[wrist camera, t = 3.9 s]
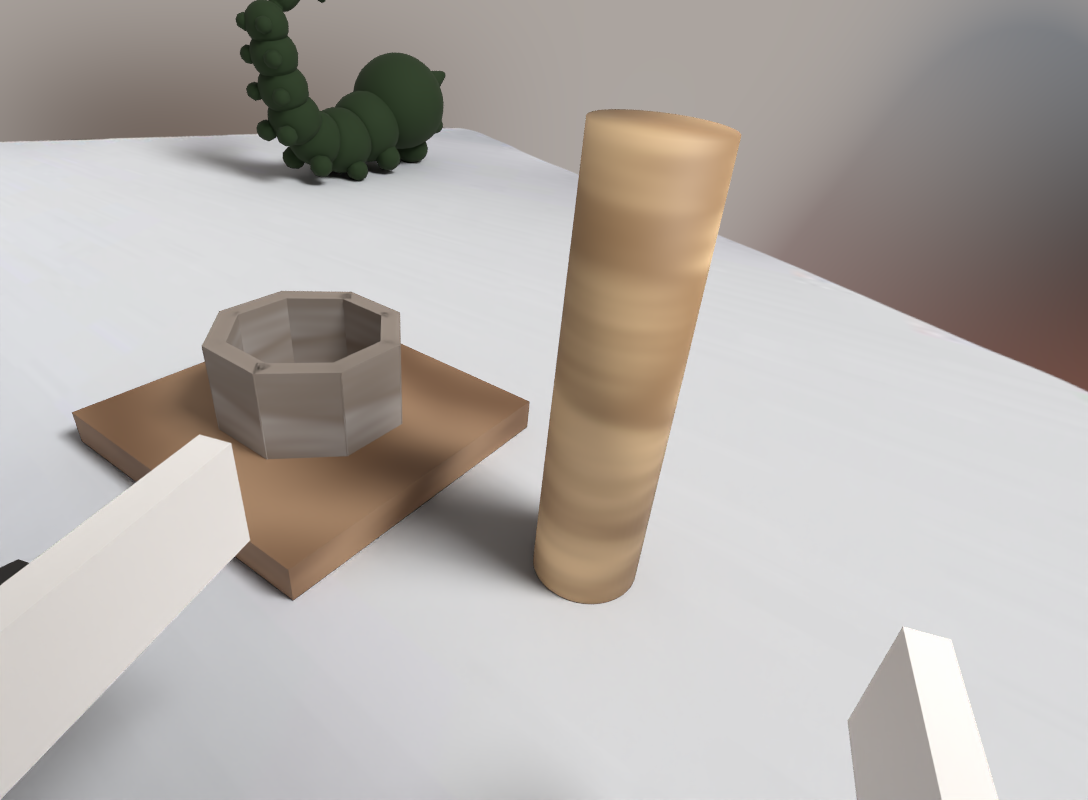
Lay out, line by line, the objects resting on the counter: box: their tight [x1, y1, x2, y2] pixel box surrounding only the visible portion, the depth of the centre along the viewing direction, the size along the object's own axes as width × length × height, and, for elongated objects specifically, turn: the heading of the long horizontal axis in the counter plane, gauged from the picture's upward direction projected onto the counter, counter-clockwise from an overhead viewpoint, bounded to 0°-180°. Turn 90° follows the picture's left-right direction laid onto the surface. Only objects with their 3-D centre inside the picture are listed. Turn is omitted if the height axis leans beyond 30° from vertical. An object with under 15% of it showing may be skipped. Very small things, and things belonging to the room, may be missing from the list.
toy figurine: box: [236, 0, 445, 181], centre depth 67 cm, size 9×19×25 cm
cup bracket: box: [72, 291, 529, 600], centre depth 29 cm, size 14×14×6 cm
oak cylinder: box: [533, 109, 741, 604], centre depth 21 cm, size 4×4×16 cm
